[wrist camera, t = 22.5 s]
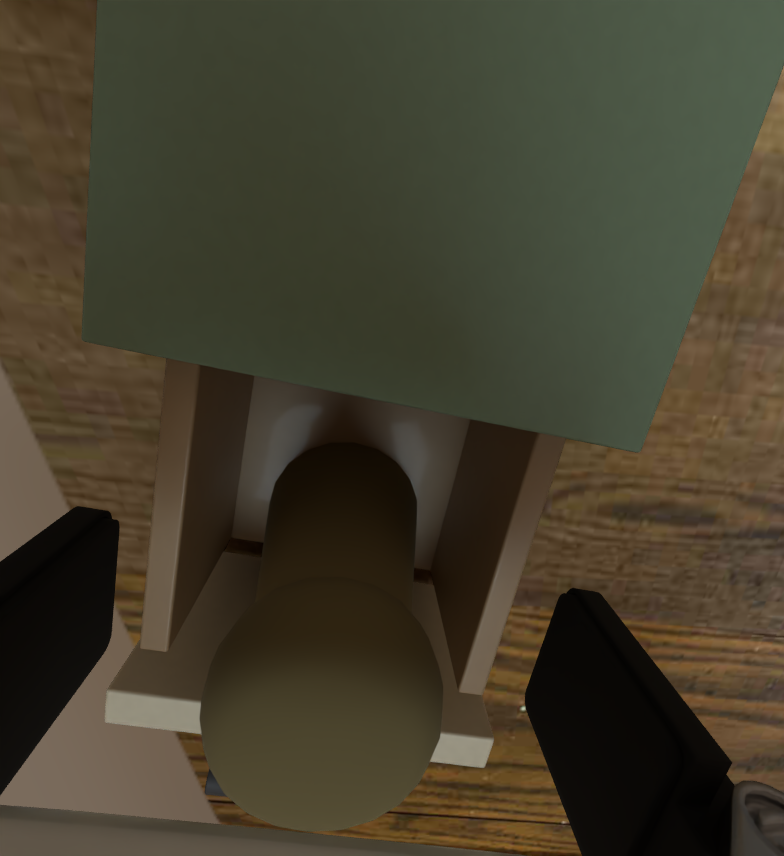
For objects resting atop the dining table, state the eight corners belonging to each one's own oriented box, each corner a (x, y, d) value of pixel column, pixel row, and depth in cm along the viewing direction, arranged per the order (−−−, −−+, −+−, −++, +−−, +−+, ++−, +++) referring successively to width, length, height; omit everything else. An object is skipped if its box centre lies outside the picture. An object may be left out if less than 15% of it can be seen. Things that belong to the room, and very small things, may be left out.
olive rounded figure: (306, 416, 18) (225, 585, 8) (444, 480, 19) (538, 707, 9) (245, 543, 20) (105, 837, 9) (377, 597, 21) (389, 917, 10)
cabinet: (516, 381, 20) (641, 454, 11) (218, 318, 19) (79, 341, 10) (633, -23, 17) (963, -414, 7) (272, -137, 15) (130, -785, 6)
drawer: (417, 706, 24) (440, 897, 16) (183, 676, 23) (92, 866, 15) (527, 320, 19) (633, 337, 11) (236, 254, 18) (139, 225, 10)
